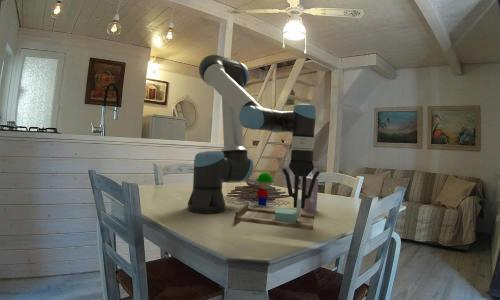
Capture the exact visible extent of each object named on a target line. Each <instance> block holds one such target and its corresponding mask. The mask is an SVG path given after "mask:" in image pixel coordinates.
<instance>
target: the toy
mask: <svg viewBox="0 0 500 300" xmlns="http://www.w3.org/2000/svg"><path fill="white" fill-rule="evenodd" d="M256 182H257V184H258V187H259V188H258V190H257V193H256V196H255V198H256V199H258V206H265V207H266V206H267V199H270V197H269V196H268V195H269V194H268V189H269V188H270V186H271V185H272V183H274V182H275V179H273V177H272V175H271V173H270V172H269V173H268V172H265V171H264V172H262V173H259V175H258V177H257V178H256Z"/></svg>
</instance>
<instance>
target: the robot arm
mask: <svg viewBox="0 0 500 300" xmlns="http://www.w3.org/2000/svg"><path fill="white" fill-rule="evenodd" d="M198 72H199V73H198V74H199V76H200V78H201V80H202V81H203V82H204V83H205V84H206V85H207V86H210V87H212V88H213V89H214V90H215V91H216V92H217V93H218V94H219V95H220V96H221V106H222V107H221V109H222V130H223V131H222V133H223V134H222V135H223V147H222V149H221V150H220V151H219V150H212V151H211V150H209V151H200V152H198V153H196V154H195V156H194V162H193V181H192V182H193V183H192V191H191V194H190V196H189V199H188V201H187V207H186V208H187V210H188V211H189V212H192V213H197V214H217V213H222V212H224V211H226V200H225V197H224V194H223V183H235V182H236V183H237V182H244V181H246V180H248V179H249V178H250V176H251V175H252V174H253V170H254V161H253V159H252V156H250V155H248V149H247V148H245V146H244V131H243V130H244V129H243V128H246V129H249V130H255V131H256V130H257V131H268V132H273V133H292V135H291V136H292V137H291V148H292V150H291V152H290V163H289V164H288V166H287V167H285V168H283V169H282V173H283V174H284V176H285V181H286V187H287V192H288V196H289V197H291V198H293V208H294V209H295V210H296V218H299V219H300V218H301V214H302V209H304V207H305V199H307V198H310V197H311V193H312V190H313V187H314V184H315V181H316V178H318V177H319V176H320V173H321V172H320V170H318V169H316V168H315V165H314V150H313V149H314V148H315V128H316V119H317V117H316V113H317V111H316V109H317V108H316V106H315V105H313V104H309V103H298V104H295V105H294V106H293V110H292V111H291V110H289V111H288V110H287V111H283V110H276V109H272V108H266V107H263V106H261V104H259V103H258V102H257V101H256V100H255V99H254V98H253V96H251V95H250V94H249V93H248V92H247V91H246V90H245V87H246V86H247V85H248V82H249V80H250V73H249V69H248V67H247V65H245V64H244V63H243V62H240V61H238V60H236V59H231V58H228V57H225V56H222V55H219V54H209V55H207V56H205V57H203V59H201V61H200V63H199V66H198ZM290 172H292V174H293V175H294V187H293V186H292V181H291V176H290ZM311 172H312V177H313V178H312V181H311V184H310V188H309V191H308V194H306V178H307V176H309V175H310V174H311ZM300 177H302V178H301V179H302V181H301V197H299V187H300V186H299V183H300V182H299V181H300ZM305 194H306V195H305Z"/></svg>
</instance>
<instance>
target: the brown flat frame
mask: <svg viewBox="0 0 500 300" xmlns="http://www.w3.org/2000/svg"><path fill="white" fill-rule="evenodd" d="M275 212H276V210H271V209H262V208H261V209H260V208H254V207H253V208H252V207H251V208H250V207H249V204H247V203H245V204H244V205H242V206H241V207H239V209H237V210H236V211H235V214H234V217H233V224H234V225H238V224H239V223H241V222H250V223H255V224H257V223H258V224H266V225H274V226H280V227H281V226H282V227H290V228H300V229H306V230H314V224H315V223H314V222H315V215H314V214H308V213H306V214H304V213H301V218H300V219H299V218H297V220H296V223H287V222H278V221H275Z"/></svg>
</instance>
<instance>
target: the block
mask: <svg viewBox="0 0 500 300" xmlns="http://www.w3.org/2000/svg"><path fill="white" fill-rule="evenodd" d="M275 211H276V212H275V221H278V222H287V223H296V220H297V218H296V209H287V208H280V207H278V208H277V209H276V210H275Z"/></svg>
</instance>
